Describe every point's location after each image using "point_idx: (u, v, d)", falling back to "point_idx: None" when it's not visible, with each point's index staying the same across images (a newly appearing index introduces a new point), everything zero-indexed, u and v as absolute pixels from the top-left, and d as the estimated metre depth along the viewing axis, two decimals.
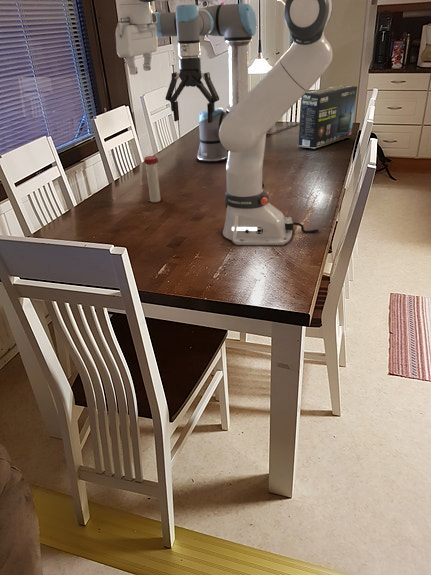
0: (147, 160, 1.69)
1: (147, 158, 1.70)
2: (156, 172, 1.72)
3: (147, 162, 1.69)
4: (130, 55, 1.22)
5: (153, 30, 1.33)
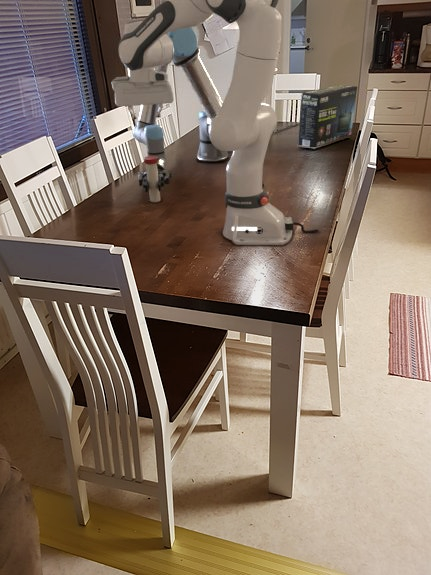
0: (147, 160, 1.69)
1: (147, 158, 1.70)
2: (156, 172, 1.72)
3: (147, 162, 1.69)
4: (118, 105, 1.58)
5: (164, 86, 1.57)
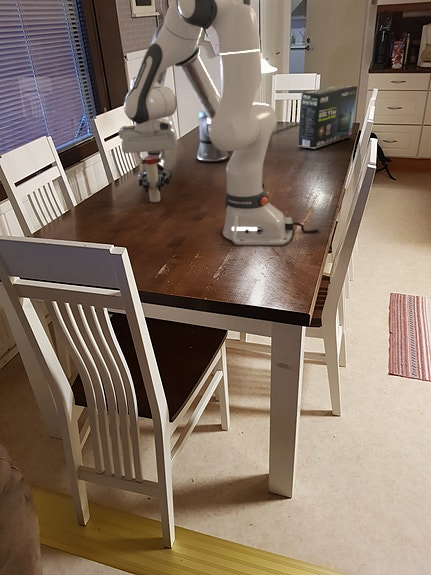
0: (147, 160, 1.69)
1: (147, 158, 1.70)
2: (156, 172, 1.72)
3: (147, 162, 1.69)
4: (125, 152, 1.66)
5: (169, 134, 1.65)
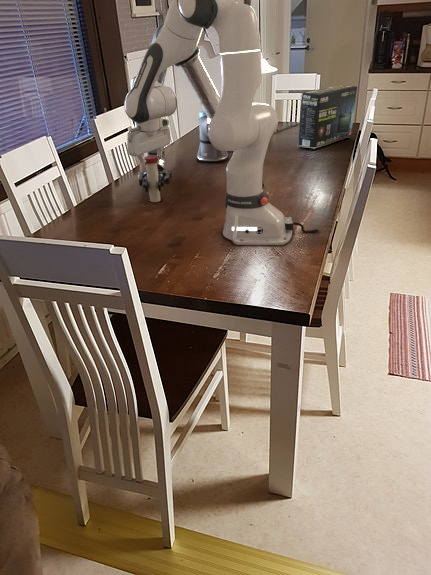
0: (155, 159, 1.69)
1: (151, 158, 1.69)
2: (156, 172, 1.72)
3: (155, 161, 1.69)
4: (136, 155, 1.62)
5: (165, 130, 1.70)
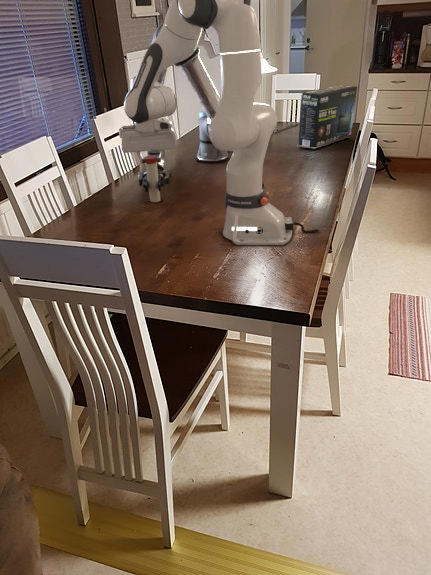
0: (155, 159, 1.69)
1: (151, 158, 1.69)
2: (156, 172, 1.72)
3: (155, 161, 1.69)
4: (125, 151, 1.66)
5: (169, 133, 1.65)
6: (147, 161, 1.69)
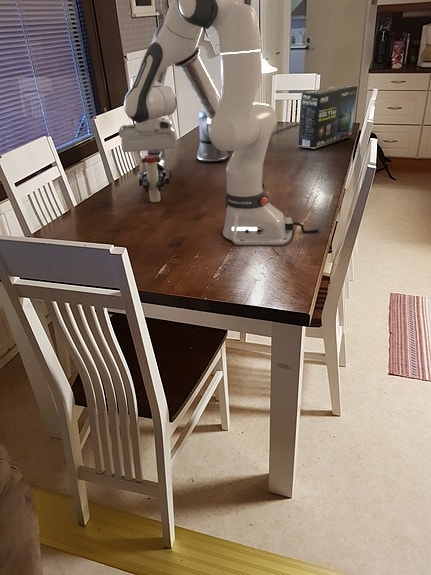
0: None
1: (154, 156, 1.70)
2: (156, 172, 1.72)
3: None
4: (125, 151, 1.66)
5: (168, 133, 1.65)
6: (155, 160, 1.69)
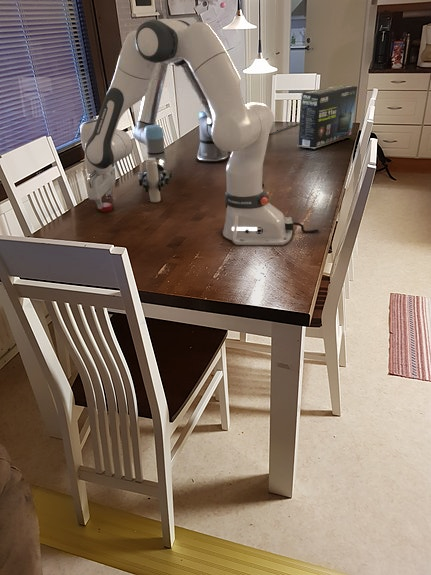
0: None
1: (106, 203, 1.73)
2: (156, 172, 1.72)
3: None
4: (98, 199, 1.61)
5: (112, 170, 1.72)
6: None
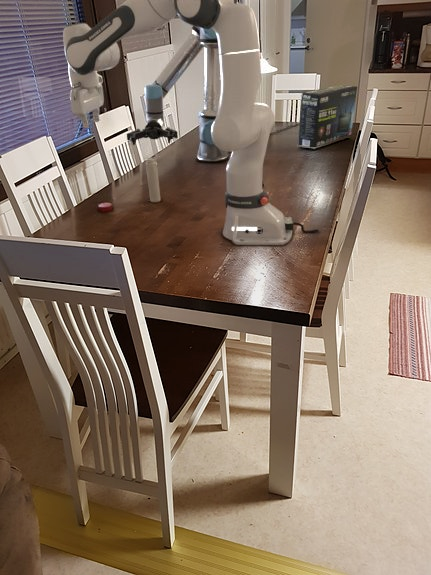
0: None
1: (106, 203, 1.73)
2: (156, 172, 1.72)
3: None
4: (83, 114, 1.46)
5: (99, 88, 1.57)
6: None
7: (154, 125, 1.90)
